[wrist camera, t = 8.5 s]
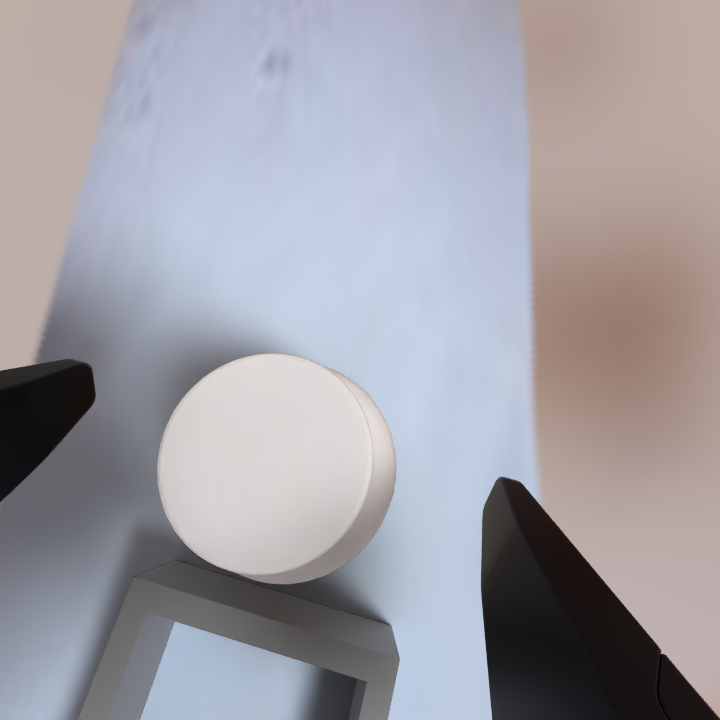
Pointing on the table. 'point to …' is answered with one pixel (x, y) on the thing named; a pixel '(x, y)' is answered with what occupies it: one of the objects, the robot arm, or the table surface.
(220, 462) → the supplement bottle
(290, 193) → the table surface
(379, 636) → the frame
